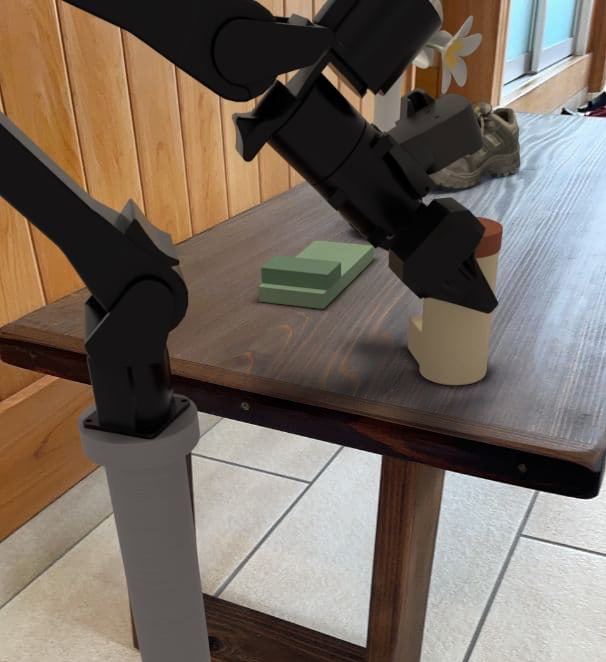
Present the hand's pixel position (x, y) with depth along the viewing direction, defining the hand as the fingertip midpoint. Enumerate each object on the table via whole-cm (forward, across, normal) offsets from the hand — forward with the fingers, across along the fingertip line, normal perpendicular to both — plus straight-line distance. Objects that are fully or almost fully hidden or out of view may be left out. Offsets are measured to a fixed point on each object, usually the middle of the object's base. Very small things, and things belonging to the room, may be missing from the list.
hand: (471, 288), depth 68 cm
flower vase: (+9, +40, +1) cm, 41 cm away
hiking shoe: (+22, +62, -12) cm, 66 cm away
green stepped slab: (0, +26, +10) cm, 27 cm away
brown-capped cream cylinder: (+4, +1, +6) cm, 7 cm away
